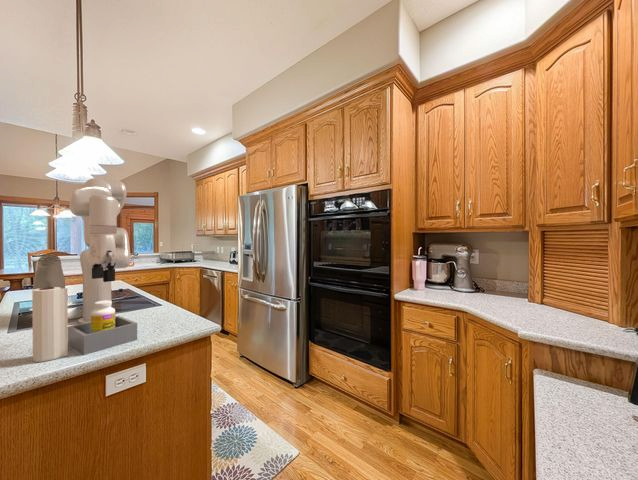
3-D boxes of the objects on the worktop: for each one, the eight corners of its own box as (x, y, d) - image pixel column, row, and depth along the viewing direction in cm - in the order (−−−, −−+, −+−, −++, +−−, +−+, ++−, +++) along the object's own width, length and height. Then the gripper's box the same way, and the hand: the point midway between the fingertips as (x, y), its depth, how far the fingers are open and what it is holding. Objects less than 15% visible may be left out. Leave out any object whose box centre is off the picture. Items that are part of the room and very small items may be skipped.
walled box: (67, 344, 92) (67, 326, 91) (118, 331, 104) (118, 315, 104) (84, 355, 84) (84, 336, 83) (137, 339, 96) (137, 323, 96)
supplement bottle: (101, 342, 90) (101, 304, 90) (85, 340, 91) (85, 303, 91) (119, 335, 97) (119, 300, 96) (104, 333, 98) (104, 299, 98)
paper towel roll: (28, 360, 80) (27, 289, 79) (54, 352, 85) (54, 285, 85) (41, 365, 77) (41, 291, 77) (67, 356, 83) (67, 287, 82)
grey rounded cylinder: (31, 317, 119) (30, 254, 119) (62, 312, 128) (61, 253, 127) (35, 321, 114) (35, 256, 113) (68, 316, 122) (67, 254, 121)
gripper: (80, 230, 95) (80, 278, 95) (100, 231, 85) (100, 284, 86) (105, 230, 101) (105, 275, 101) (126, 231, 92) (126, 281, 92)
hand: (103, 279), depth 94 cm, fingers open, 9 cm apart
